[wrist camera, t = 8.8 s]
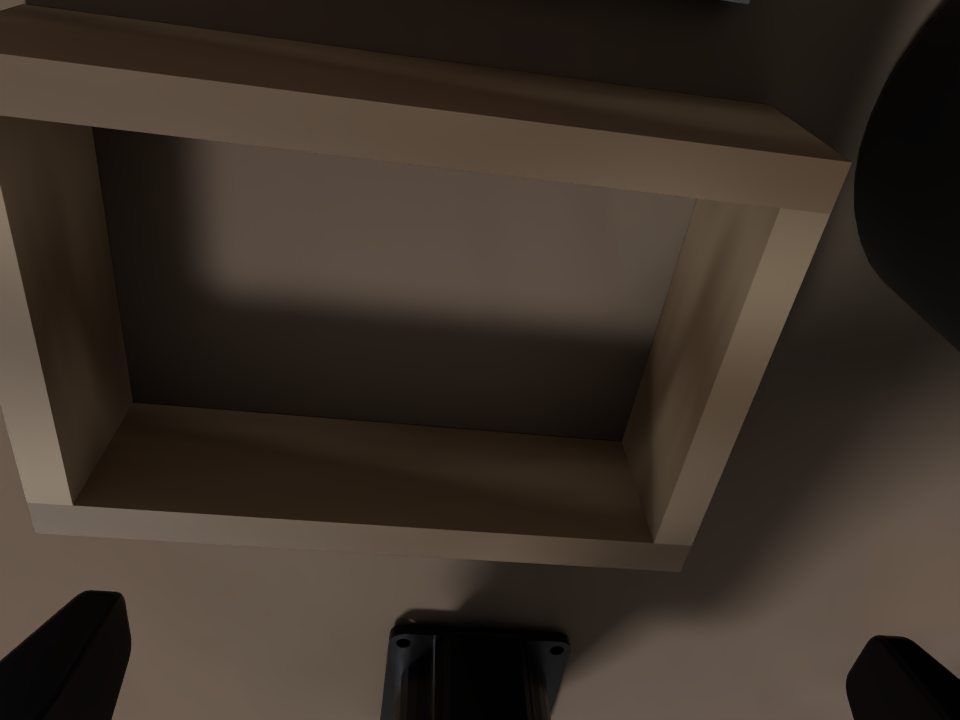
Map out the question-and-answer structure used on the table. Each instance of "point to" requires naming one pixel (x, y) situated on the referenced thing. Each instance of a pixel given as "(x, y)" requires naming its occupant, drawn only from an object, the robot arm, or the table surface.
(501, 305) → the table surface
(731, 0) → the slate tile
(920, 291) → the mug
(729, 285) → the frame
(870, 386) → the table surface
